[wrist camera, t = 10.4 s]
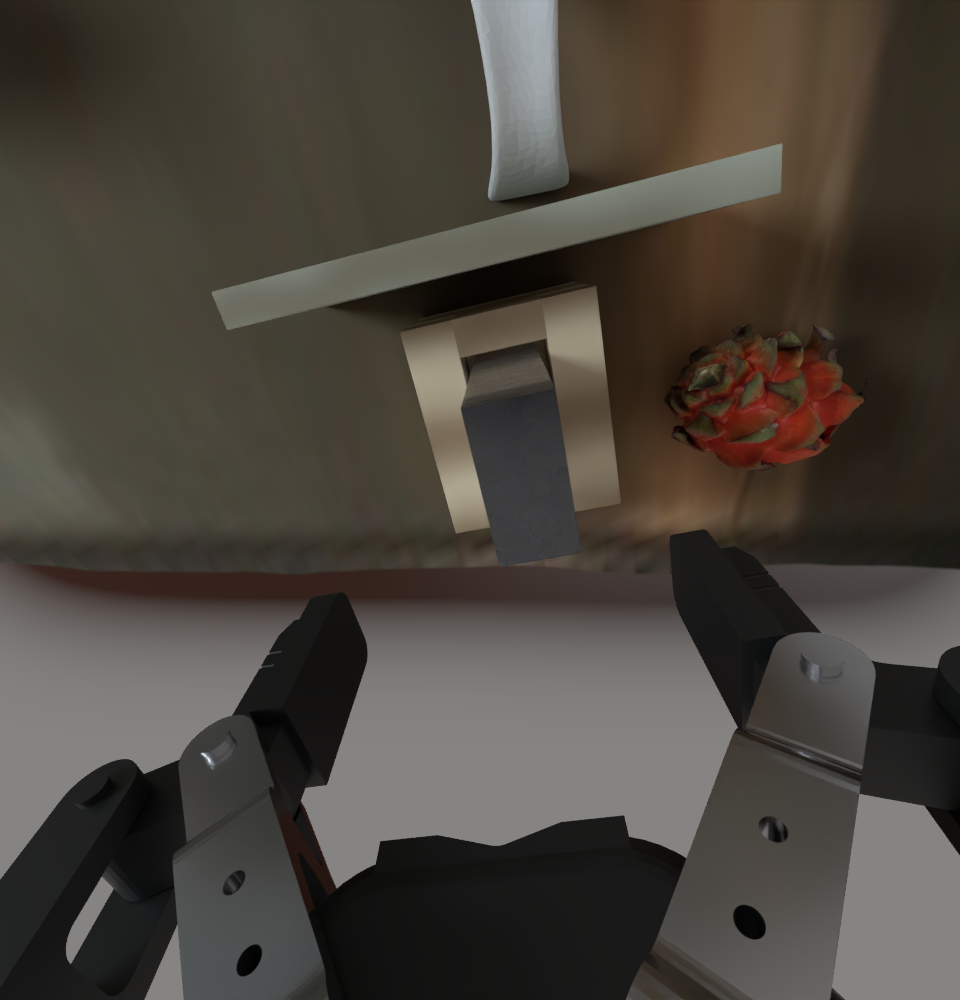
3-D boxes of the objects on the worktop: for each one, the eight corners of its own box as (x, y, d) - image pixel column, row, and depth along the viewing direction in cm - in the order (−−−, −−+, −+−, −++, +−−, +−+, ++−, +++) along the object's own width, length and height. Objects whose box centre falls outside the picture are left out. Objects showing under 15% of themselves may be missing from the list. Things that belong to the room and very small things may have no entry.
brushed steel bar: (475, 355, 29) (460, 409, 18) (534, 342, 28) (555, 388, 18) (499, 464, 32) (499, 566, 21) (553, 453, 31) (581, 552, 20)
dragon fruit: (634, 364, 35) (788, 374, 36) (641, 482, 33) (802, 486, 35) (704, 293, 26) (900, 310, 28) (719, 446, 25) (924, 454, 26)
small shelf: (318, 282, 32) (211, 291, 20) (667, 193, 29) (782, 143, 17) (389, 496, 38) (340, 598, 26) (680, 439, 35) (771, 526, 23)
